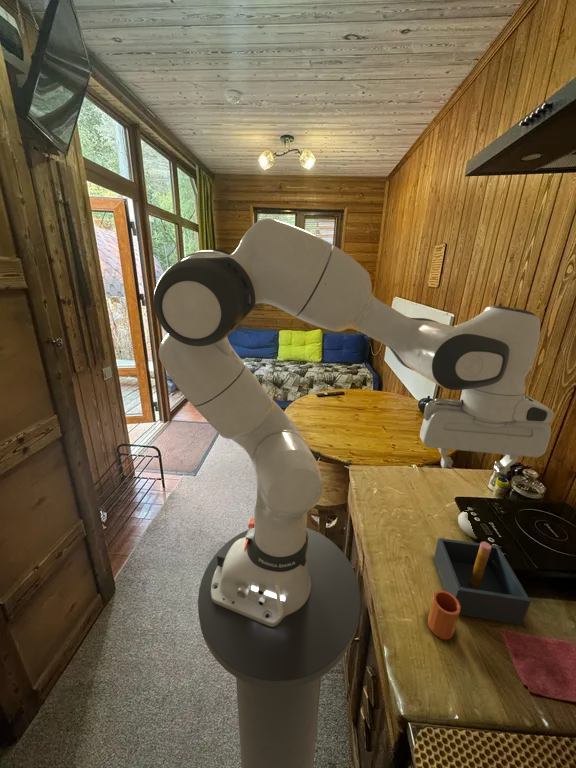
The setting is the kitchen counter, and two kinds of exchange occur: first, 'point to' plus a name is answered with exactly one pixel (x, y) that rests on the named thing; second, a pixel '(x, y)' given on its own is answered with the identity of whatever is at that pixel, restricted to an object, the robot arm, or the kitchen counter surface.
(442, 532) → the kitchen counter surface
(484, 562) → the pencil
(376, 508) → the kitchen counter surface
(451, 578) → the bin
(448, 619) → the pen cup
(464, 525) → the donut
